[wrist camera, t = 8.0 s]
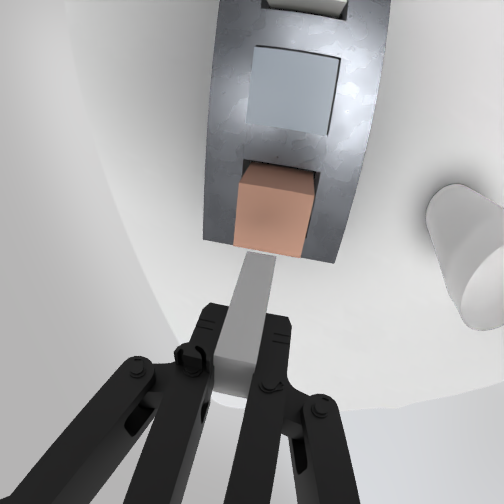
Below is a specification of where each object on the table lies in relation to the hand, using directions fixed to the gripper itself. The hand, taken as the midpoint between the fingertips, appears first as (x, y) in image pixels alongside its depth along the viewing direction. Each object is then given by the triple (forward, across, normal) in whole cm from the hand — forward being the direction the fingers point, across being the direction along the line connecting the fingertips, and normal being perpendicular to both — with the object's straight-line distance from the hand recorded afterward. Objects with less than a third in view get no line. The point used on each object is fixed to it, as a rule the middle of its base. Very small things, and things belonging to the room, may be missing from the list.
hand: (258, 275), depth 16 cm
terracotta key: (+11, 0, 0) cm, 11 cm away
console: (+14, 0, +9) cm, 16 cm away
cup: (+14, +18, +1) cm, 23 cm away
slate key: (+11, 0, +9) cm, 14 cm away
